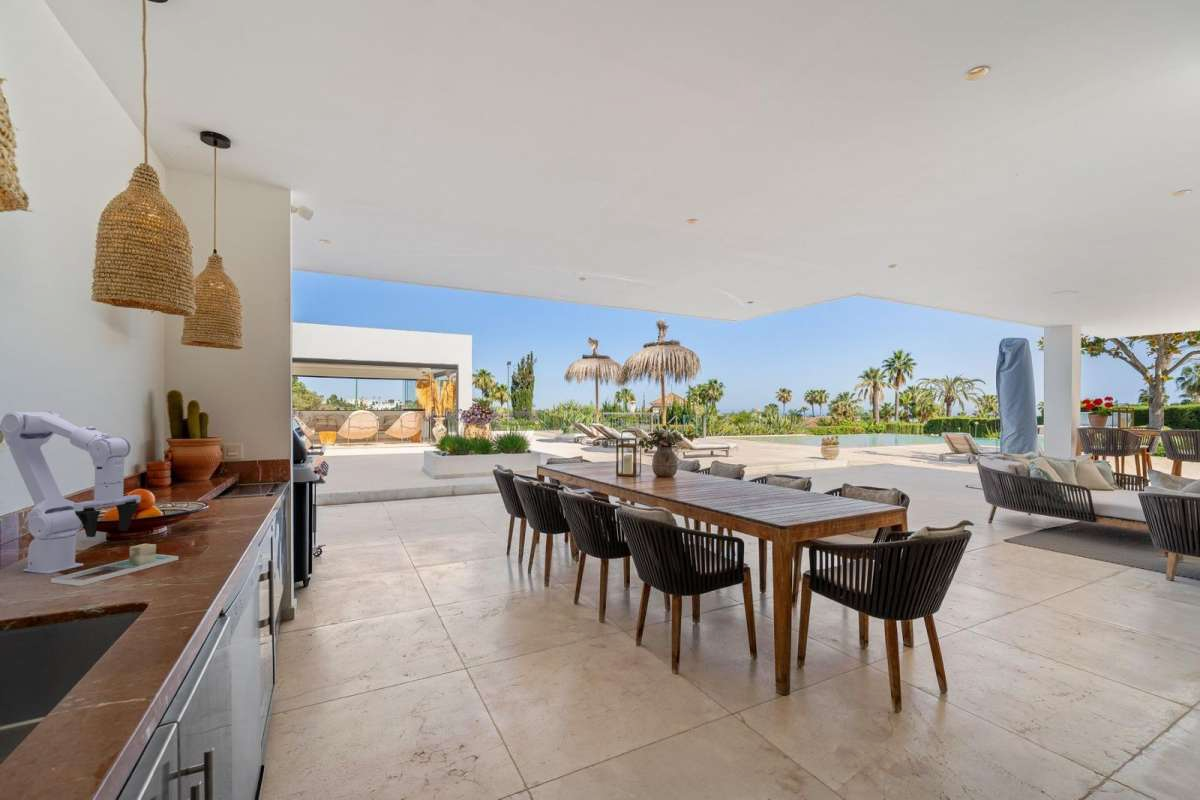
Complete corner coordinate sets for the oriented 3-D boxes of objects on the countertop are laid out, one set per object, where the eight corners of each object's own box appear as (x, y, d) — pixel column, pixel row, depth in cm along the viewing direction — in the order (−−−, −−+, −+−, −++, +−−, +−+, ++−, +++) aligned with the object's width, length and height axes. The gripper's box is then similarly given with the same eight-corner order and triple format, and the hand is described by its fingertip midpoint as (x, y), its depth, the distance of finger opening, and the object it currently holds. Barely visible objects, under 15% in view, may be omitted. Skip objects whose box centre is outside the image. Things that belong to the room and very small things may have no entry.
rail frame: (50, 582, 130) (50, 578, 130) (151, 557, 153) (151, 553, 153) (80, 586, 128) (80, 581, 128) (178, 559, 151) (178, 556, 151)
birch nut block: (129, 565, 145) (129, 547, 145) (144, 561, 148) (145, 543, 149) (140, 566, 144) (140, 548, 144) (155, 562, 148) (156, 544, 148)
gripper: (88, 487, 133) (86, 540, 133) (149, 479, 147) (148, 528, 147) (68, 485, 135) (66, 538, 134) (130, 478, 149) (128, 526, 148)
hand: (107, 533), depth 141 cm, fingers open, 7 cm apart
